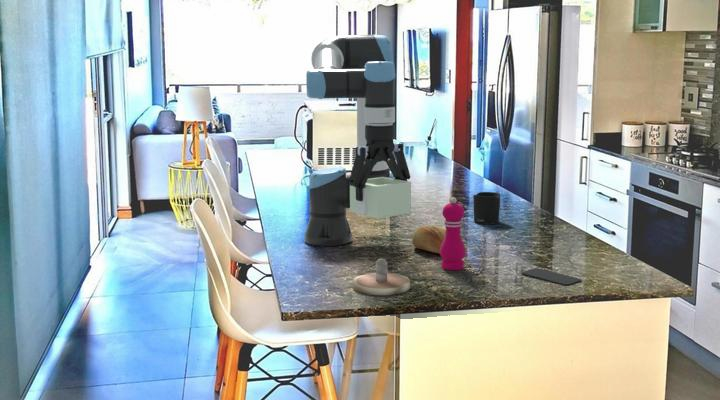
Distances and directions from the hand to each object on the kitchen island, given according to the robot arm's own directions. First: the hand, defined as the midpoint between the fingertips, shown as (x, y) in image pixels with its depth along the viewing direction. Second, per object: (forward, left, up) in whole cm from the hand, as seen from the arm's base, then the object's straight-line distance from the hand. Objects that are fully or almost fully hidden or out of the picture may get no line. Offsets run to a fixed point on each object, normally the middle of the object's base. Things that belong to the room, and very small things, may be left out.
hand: (380, 210), depth 201 cm
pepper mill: (-27, -1, -20) cm, 34 cm away
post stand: (0, 0, -20) cm, 20 cm away
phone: (-40, +23, -21) cm, 51 cm away
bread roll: (-35, -18, -21) cm, 44 cm away
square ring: (0, 0, -1) cm, 1 cm away
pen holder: (-78, -35, -20) cm, 88 cm away
